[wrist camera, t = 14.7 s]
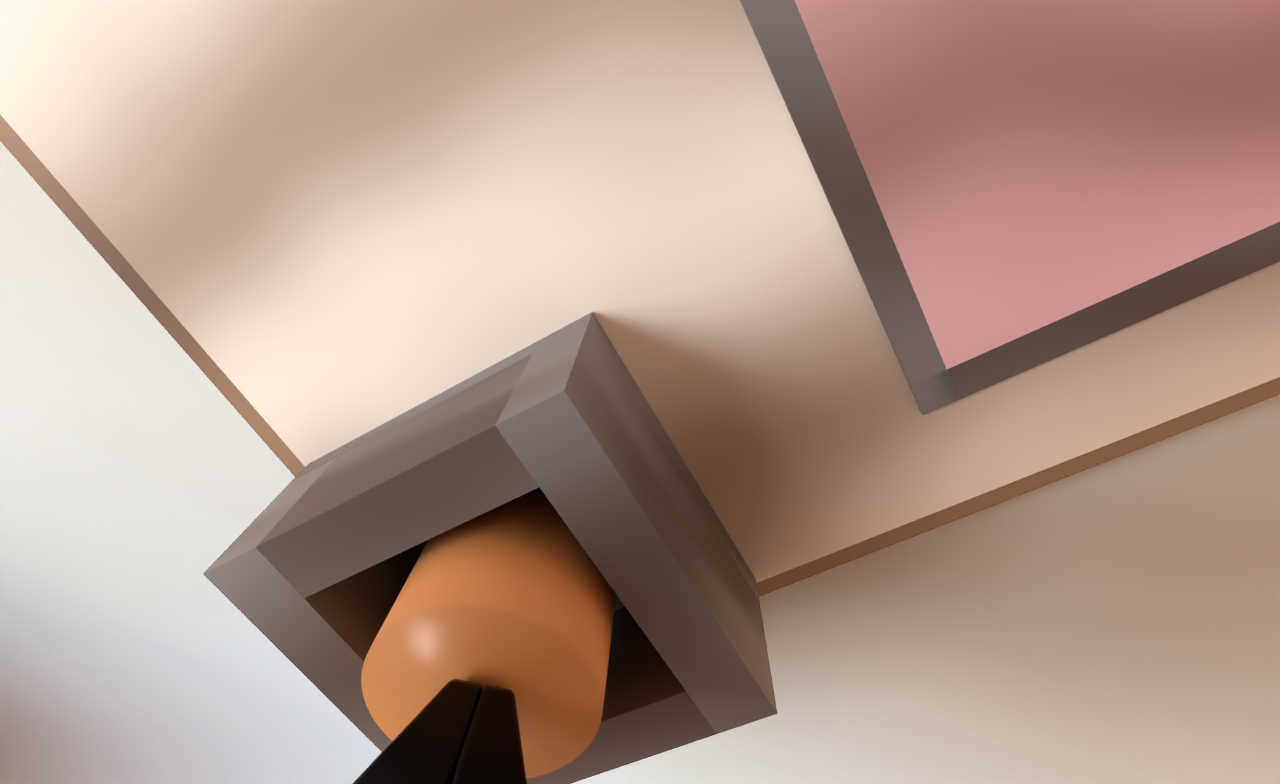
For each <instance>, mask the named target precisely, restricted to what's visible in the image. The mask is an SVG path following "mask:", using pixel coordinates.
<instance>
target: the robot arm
mask: <svg viewBox="0 0 1280 784" xmlns="http://www.w3.org/2000/svg"><path fill="white" fill-rule="evenodd" d="M353 784H527V781H526V774H525V766H524V759H523V751H522V744H521V737H520V729H519V722H518V714H517V707H516V699H515V695H514V692H513V691H512V690H510V689H505V688H500V687H495V686H490V685H487V686H485V687H484V688H483V689H482V687H481V685H480V684H478V683H475V682H470V681H465V680H460V679H453V680H450V681H449V682H448V683H447V684H446V685H445V686H444V687H443V688H442V689H441V690H440V691H439V692H438V693H437V694H436V695H435V696H434V698H433V699H432V700H431V701H430V702H429V703H428V704H427V705H426V706H425V707H424V708H423V709H422V710H421V711H420V712H419V713H418V715H417V716H416V717H415V718H414V719H413V720H412V721H411V722H410V723H409V724H408V725H407V726H406V727H405V728H404V729H403V731H402V732H401V733H400V734H399V735H398V736H397V737H396V738H395V739H394V740H393V741H392V742H391V743H390V744H389V745H388V747H387V748H386V749H385V750H384V751H383V752H382V753H381V754H380V755H379V756H378V757H377V758H376V759H375V760H374V761H373V762H372V764H371V765H370V766H369V767H368V768H367V769H366V770H365V771H364V772H363V773H362V774H361V775H360V776H359V777H358V778H357V780H356V781H355V782H354V783H353Z"/></svg>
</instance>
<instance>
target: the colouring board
mask: <svg viewBox="0 0 1280 784" xmlns="http://www.w3.org/2000/svg"><path fill="white" fill-rule="evenodd" d="M0 141H1V142H2V143H3V145H4V146H5V147H6V148H7V149H8V150H9V151H10V153H11V154H12V155H13V156H14V157H15V158H16V159H17V160H18V162H19V163H20V164H21V165H22V166H23V167H24V168H25V170H26V171H27V172H28V173H29V174H30V175H31V176H32V178H33V179H34V180H35V181H36V182H37V183H38V184H39V186H40V187H41V188H42V189H43V190H44V191H45V192H46V194H47V195H48V196H49V197H50V198H51V199H52V200H53V202H54V203H55V204H56V205H57V206H58V207H59V208H60V209H61V211H62V212H63V213H64V214H65V215H66V216H67V217H68V219H69V220H70V221H71V222H72V223H73V224H74V225H75V227H76V228H77V229H78V230H79V231H80V232H81V233H82V235H83V236H84V237H85V238H86V239H87V240H88V241H89V243H90V244H91V245H92V246H93V247H94V248H95V249H96V250H97V252H98V253H99V254H100V255H101V256H102V257H103V258H104V260H105V261H106V262H107V263H108V264H109V265H110V266H111V268H112V269H113V270H114V271H115V272H116V273H117V274H118V276H119V277H120V278H121V279H122V280H123V281H124V282H125V284H126V285H127V286H128V287H129V288H130V289H131V290H132V292H133V293H134V294H135V295H136V296H137V297H138V298H139V299H140V301H141V302H142V303H143V304H144V305H145V306H146V307H147V309H148V310H149V311H150V312H151V313H152V314H153V315H154V317H155V318H156V319H157V320H158V321H159V322H160V323H161V325H162V326H163V327H164V328H165V329H166V330H167V331H168V333H169V334H170V335H171V336H172V337H173V338H174V339H175V340H176V342H177V343H178V344H179V345H180V346H181V347H182V348H183V350H184V351H185V352H186V353H187V354H188V355H189V356H190V358H191V359H192V360H193V361H194V362H195V363H196V364H197V366H198V367H199V368H200V369H201V370H202V371H203V372H204V374H205V375H206V376H207V377H208V378H209V379H210V380H211V382H212V383H213V384H214V385H215V386H216V387H217V388H218V389H219V391H220V392H221V393H222V394H223V395H224V396H225V397H226V399H227V400H228V401H229V402H230V403H231V404H232V405H233V407H234V408H235V409H236V410H237V411H238V412H239V413H240V415H241V416H242V417H243V418H244V419H245V420H246V421H247V423H248V424H249V425H250V426H251V427H252V428H253V429H254V430H255V432H256V433H257V434H258V435H259V436H260V437H261V438H262V440H263V441H264V442H265V443H266V444H267V445H268V446H269V448H270V449H271V450H272V451H273V452H274V453H275V454H276V456H277V457H278V458H279V459H280V460H281V461H282V462H283V464H284V465H285V466H286V467H287V468H288V469H289V470H290V472H291V473H292V474H293V475H294V476H295V479H294V480H293V481H292V482H291V483H290V484H289V485H288V486H287V487H286V488H285V489H284V490H283V491H282V492H281V493H280V494H279V495H278V496H277V497H276V498H275V499H274V500H273V502H272V503H271V504H270V505H269V506H268V507H267V508H266V509H265V510H264V511H263V512H262V513H261V514H260V515H259V516H258V517H257V518H256V519H255V520H254V521H253V522H252V523H251V524H250V526H249V527H248V528H247V529H246V530H245V531H244V532H243V533H242V534H241V535H240V536H239V537H238V538H237V539H236V540H235V541H234V542H233V543H232V544H231V545H230V546H229V547H228V549H227V550H226V551H225V552H224V553H223V554H222V555H221V556H220V557H219V558H218V559H217V560H216V561H215V562H214V563H213V564H212V565H211V566H210V567H209V568H208V569H207V570H206V572H205V573H204V575H205V576H206V577H207V578H208V579H209V580H210V581H211V582H212V583H213V584H214V585H215V586H216V587H217V588H218V589H219V590H220V591H221V592H222V593H223V594H224V595H225V596H226V597H227V598H228V599H229V600H230V601H231V602H232V603H233V604H234V605H235V606H236V607H237V608H238V609H239V610H240V611H241V612H242V613H243V614H244V615H245V616H246V617H247V618H248V619H249V620H250V621H251V622H252V623H253V624H254V625H255V626H256V627H257V628H258V629H259V630H260V631H261V632H262V633H263V634H264V635H265V636H266V637H267V638H268V639H269V640H270V641H271V642H272V643H273V644H274V645H275V646H276V647H277V648H278V649H279V650H280V651H281V652H282V653H283V654H284V655H285V656H286V657H287V658H288V659H289V660H290V661H291V662H292V663H293V664H294V665H295V666H296V667H297V668H298V669H299V670H300V671H301V672H302V673H303V674H304V675H305V676H306V677H307V678H308V679H309V680H310V681H311V682H312V683H313V684H314V685H315V686H316V687H317V688H318V689H319V690H320V691H321V692H322V693H323V694H324V695H325V696H326V697H327V698H328V699H329V700H330V701H331V702H332V703H333V704H334V705H335V706H336V707H337V708H338V709H339V710H340V711H341V712H342V713H343V714H344V715H345V716H346V717H347V718H348V719H349V720H350V721H351V722H352V723H353V724H354V725H355V726H356V727H357V728H358V729H359V730H360V731H361V732H362V733H363V734H364V735H365V736H366V737H367V738H369V739H370V740H371V741H372V742H373V743H374V744H375V745H376V746H377V747H378V748H379V749H380V750H381V751H382V752H383V751H384V750H385V749H386V748H387V747H388V745H389V744H390V743H391V742H392V741H391V740H390V739H389V738H388V737H387V736H386V735H385V734H384V732H383V731H382V730H381V729H380V728H379V727H378V725H377V724H376V722H375V721H374V719H373V718H372V716H371V714H370V712H369V710H368V708H367V706H366V703H365V700H364V697H363V692H362V685H361V676H362V668H363V664H364V660H365V658H366V656H367V654H368V651H369V649H370V647H371V646H372V644H373V642H374V640H375V638H376V636H377V634H378V633H379V631H380V629H381V627H382V625H383V623H384V621H385V620H386V618H387V616H388V614H389V612H390V610H391V608H392V607H393V605H394V603H395V601H396V599H397V597H398V595H399V594H400V592H401V590H402V588H403V586H404V584H405V582H406V581H407V579H408V577H409V575H410V573H411V571H412V569H413V568H414V566H415V564H416V562H417V560H418V558H419V556H420V555H421V553H422V551H423V549H424V547H425V545H426V543H427V542H428V540H429V539H431V538H433V537H435V536H437V535H439V534H441V533H443V532H445V531H448V530H450V529H452V528H454V527H456V526H458V525H460V524H462V523H465V522H467V521H469V520H471V519H473V518H475V517H477V516H479V515H481V514H484V513H486V512H488V511H490V510H492V509H494V508H496V507H498V506H501V505H503V504H505V503H507V502H509V501H511V500H513V499H515V498H517V497H520V496H522V495H524V494H526V493H528V492H530V491H532V490H534V489H537V488H539V487H540V489H541V490H542V491H543V493H544V494H545V496H546V497H547V498H548V500H549V501H550V503H551V504H552V505H553V507H554V508H555V510H556V511H557V512H558V514H559V515H560V517H561V518H562V519H563V521H564V522H565V523H566V525H567V526H568V528H569V529H570V530H571V532H572V533H573V535H574V536H575V537H576V539H577V540H578V542H579V543H580V544H581V546H582V547H583V549H584V550H585V551H586V553H587V554H588V555H589V557H590V558H591V560H592V561H593V562H594V564H595V565H596V567H597V568H598V569H599V571H600V572H601V574H602V575H603V576H604V578H605V579H606V580H607V582H608V583H609V585H610V586H611V587H612V589H613V590H614V592H615V593H616V601H615V610H614V618H613V627H612V635H611V644H610V653H609V661H608V670H607V678H606V687H605V696H604V704H603V713H602V719H601V723H600V726H599V729H598V731H597V733H596V735H595V738H594V739H593V740H592V742H591V743H590V745H589V746H588V747H587V748H586V749H585V750H584V751H583V752H582V754H581V755H579V756H578V757H577V758H575V759H574V760H573V761H572V762H570V763H568V764H567V765H565V766H563V767H561V768H560V769H557V770H555V771H552V772H550V773H548V774H544V775H541V776H537V777H534V778H528V779H526V781H527V784H571V783H574V782H577V781H580V780H582V779H585V778H588V777H591V776H594V775H597V774H600V773H603V772H606V771H609V770H612V769H615V768H618V767H621V766H624V765H627V764H630V763H633V762H636V761H638V760H641V759H644V758H647V757H650V756H653V755H656V754H659V753H662V752H665V751H668V750H671V749H674V748H677V747H680V746H683V745H686V744H689V743H691V742H694V741H697V740H700V739H703V738H706V737H709V736H712V735H715V734H718V733H721V732H724V731H727V730H730V729H733V728H736V727H739V726H742V725H745V724H747V723H750V722H753V721H756V720H759V719H762V718H765V717H768V716H771V715H774V714H777V709H776V703H775V697H774V691H773V684H772V678H771V672H770V666H769V659H768V653H767V647H766V640H765V634H764V628H763V622H762V615H761V609H760V603H759V596H761V595H764V594H766V593H769V592H772V591H774V590H777V589H779V588H782V587H784V586H787V585H790V584H792V583H795V582H797V581H800V580H803V579H805V578H808V577H810V576H813V575H815V574H818V573H821V572H823V571H826V570H828V569H831V568H833V567H836V566H839V565H841V564H844V563H846V562H849V561H851V560H854V559H857V558H859V557H862V556H864V555H867V554H869V553H872V552H875V551H877V550H880V549H882V548H885V547H888V546H890V545H893V544H895V543H898V542H900V541H903V540H906V539H908V538H911V537H913V536H916V535H918V534H921V533H924V532H926V531H929V530H931V529H934V528H936V527H939V526H942V525H944V524H947V523H949V522H952V521H955V520H957V519H960V518H962V517H965V516H967V515H970V514H973V513H975V512H978V511H980V510H983V509H985V508H988V507H991V506H993V505H996V504H998V503H1001V502H1003V501H1006V500H1009V499H1011V498H1014V497H1016V496H1019V495H1022V494H1024V493H1027V492H1029V491H1032V490H1034V489H1037V488H1040V487H1042V486H1045V485H1047V484H1050V483H1052V482H1055V481H1058V480H1060V479H1063V478H1065V477H1068V476H1070V475H1073V474H1076V473H1078V472H1081V471H1083V470H1086V469H1089V468H1091V467H1094V466H1096V465H1099V464H1101V463H1104V462H1107V461H1109V460H1112V459H1114V458H1117V457H1119V456H1122V455H1125V454H1127V453H1130V452H1132V451H1135V450H1137V449H1140V448H1143V447H1145V446H1148V445H1150V444H1153V443H1156V442H1158V441H1161V440H1163V439H1166V438H1168V437H1171V436H1174V435H1176V434H1179V433H1181V432H1184V431H1186V430H1189V429H1192V428H1194V427H1197V426H1199V425H1202V424H1204V423H1207V422H1210V421H1212V420H1215V419H1217V418H1220V417H1223V416H1225V415H1228V414H1230V413H1233V412H1235V411H1238V410H1241V409H1243V408H1246V407H1248V406H1251V405H1253V404H1256V403H1259V402H1261V401H1264V400H1266V399H1269V398H1271V397H1274V396H1277V395H1279V394H1280V0H0Z"/></svg>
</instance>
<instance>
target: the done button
mask: <svg viewBox="0 0 1280 784" xmlns="http://www.w3.org/2000/svg"><path fill="white" fill-rule="evenodd" d="M615 601H616V593H615V592H614V590H613V589H612V587H611V586H610V585H609V583H608V582H607V580H606V579H605V578H604V576H603V575H602V574H601V572H600V571H599V569H598V568H597V567H596V565H595V564H594V562H593V561H592V560H591V558H590V557H589V555H588V554H587V553H586V551H585V550H584V549H583V547H582V546H581V544H580V543H579V542H578V540H577V539H576V537H575V536H574V535H573V533H572V532H571V530H570V529H569V528H568V526H567V525H566V523H565V522H564V521H563V519H562V518H561V517H560V515H559V514H558V512H557V511H556V510H555V508H554V507H553V505H552V504H551V503H550V501H549V500H548V498H547V497H546V496H545V494H544V493H543V491H542V490H541V489H540V487H539V488H537V489H534V490H532V491H530V492H528V493H526V494H524V495H522V496H520V497H517V498H515V499H513V500H511V501H509V502H507V503H505V504H503V505H501V506H498V507H496V508H494V509H492V510H490V511H488V512H486V513H484V514H481V515H479V516H477V517H475V518H473V519H471V520H469V521H467V522H465V523H462V524H460V525H458V526H456V527H454V528H452V529H450V530H448V531H445V532H443V533H441V534H439V535H437V536H435V537H433V538H431V539H429V540H428V542H427V543H426V545H425V547H424V549H423V551H422V553H421V555H420V556H419V558H418V560H417V562H416V564H415V566H414V568H413V569H412V571H411V573H410V575H409V577H408V579H407V581H406V582H405V584H404V586H403V588H402V590H401V592H400V594H399V595H398V597H397V599H396V601H395V603H394V605H393V607H392V608H391V610H390V612H389V614H388V616H387V618H386V620H385V621H384V623H383V625H382V627H381V629H380V631H379V633H378V634H377V636H376V638H375V640H374V642H373V644H372V646H371V647H370V649H369V651H368V654H367V656H366V658H365V660H364V664H363V668H362V676H361V685H362V692H363V697H364V700H365V703H366V706H367V708H368V710H369V712H370V714H371V716H372V718H373V719H374V721H375V722H376V724H377V725H378V727H379V728H380V729H381V730H382V731H383V732H384V734H385V735H386V736H387V737H388V738H389V739H390V740H391V741H393V740H394V739H395V738H396V737H397V736H398V735H399V734H400V733H401V732H402V731H403V729H404V728H405V727H406V726H407V725H408V724H409V723H410V722H411V721H412V720H413V719H414V718H415V717H416V716H417V715H418V713H419V712H420V711H421V710H422V709H423V708H424V707H425V706H426V705H427V704H428V703H429V702H430V701H431V700H432V699H433V698H434V696H435V695H436V694H437V693H438V692H439V691H440V690H441V689H442V688H443V687H444V686H445V685H446V684H447V683H448V682H449V681H450V680H453V679H460V680H465V681H470V682H475V683H478V684H480V685H481V687H482V689H483V688H484V687H485V686H487V685H490V686H495V687H500V688H505V689H510V690H512V691H513V692H514V695H515V699H516V707H517V714H518V722H519V729H520V737H521V744H522V751H523V759H524V766H525V774H526V779H528V778H534V777H537V776H541V775H544V774H548V773H550V772H552V771H555V770H557V769H560V768H561V767H563V766H565V765H567V764H568V763H570V762H572V761H573V760H574V759H575V758H577V757H578V756H579V755H581V754H582V752H583V751H584V750H585V749H586V748H587V747H588V746H589V745H590V743H591V742H592V740H593V739H594V738H595V735H596V733H597V731H598V729H599V726H600V723H601V719H602V713H603V704H604V696H605V687H606V678H607V670H608V661H609V653H610V644H611V635H612V627H613V618H614V610H615Z"/></svg>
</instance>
